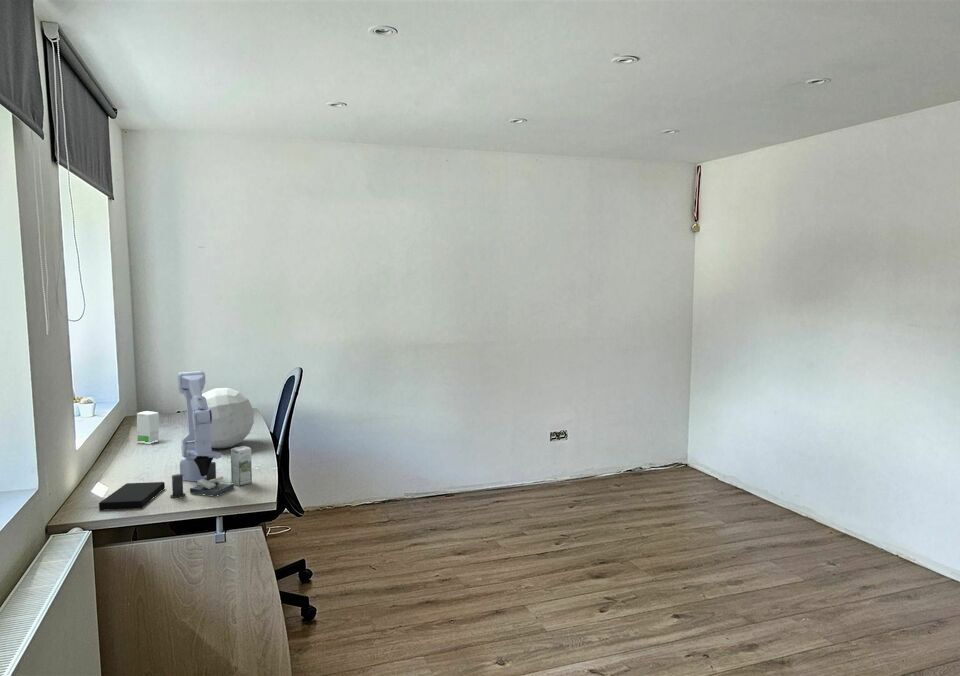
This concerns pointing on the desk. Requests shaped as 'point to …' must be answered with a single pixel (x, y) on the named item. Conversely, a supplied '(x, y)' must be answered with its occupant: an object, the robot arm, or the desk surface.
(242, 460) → the syrup box
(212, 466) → the far cord post
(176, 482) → the post
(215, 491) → the panel
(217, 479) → the orange-tipped paddle
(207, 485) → the grey paddle
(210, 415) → the robot arm
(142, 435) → the skincare box
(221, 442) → the ball
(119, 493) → the external hard drive
